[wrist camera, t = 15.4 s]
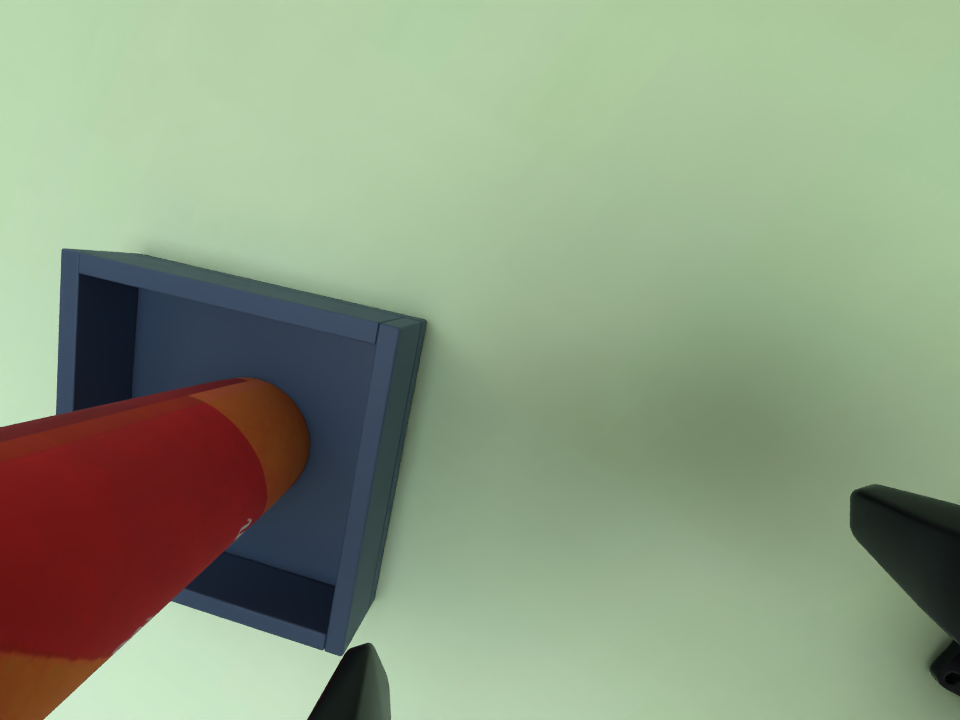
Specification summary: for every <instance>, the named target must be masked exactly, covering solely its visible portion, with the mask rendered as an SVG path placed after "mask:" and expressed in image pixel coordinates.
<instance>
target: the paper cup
mask: <svg viewBox="0 0 960 720" xmlns="http://www.w3.org/2000/svg"><path fill="white" fill-rule="evenodd" d="M309 449H310V441H309V433H308V429H307V425H306V422H305V420H304V418H303V415H302V414H301V412H300V410H299V408H298V407H297V406H296V404H295V403H294V402H293V400H292V399H291V398H290V397H289V396H288V395H287V394H286V393H284V392H283V391H282V390H281V389H279V388H278V387H276V386H274V385H273V384H270V383H268V382H266V381H263V380H260V379H256V378H232V379H225V380H219V381H214V382H209V383H204V384H199V385H194V386H189V387H184V388H180V389H175V390H170V391H165V392H161V393H156V394H151V395H147V396H142V397H137V398H133V399H128V400H124V401H119V402H114V403H110V404H105V405H100V406H96V407H91V408H87V409H82V410H77V411H73V412H68V413H64V414H59V415H55V416H50V417H45V418H41V419H36V420H32V421H27V422H23V423H18V424H14V425H9V426H4V427H0V720H43V719H45V718H46V717H47V716H48V715H49V714H50V713H51V712H52V711H53V710H54V709H55V708H56V707H57V706H58V705H60V704H61V703H62V702H63V701H64V700H65V699H66V698H67V697H68V696H69V695H70V694H71V693H72V692H73V691H75V690H76V689H77V688H78V687H79V686H80V685H81V684H82V683H83V682H84V681H85V680H86V679H87V678H88V677H90V676H91V675H92V674H93V673H94V672H95V671H96V670H97V669H98V668H99V667H100V666H101V665H102V664H104V663H105V662H106V661H107V660H108V659H109V658H110V657H111V656H112V655H113V654H114V653H115V652H116V651H117V650H119V649H120V648H121V647H122V646H123V645H124V644H125V643H126V642H127V641H128V640H129V639H130V638H131V637H133V636H134V635H135V634H136V633H137V632H138V631H139V630H140V629H141V628H142V627H143V626H144V625H145V624H146V623H148V622H149V621H150V620H151V619H152V618H153V617H154V616H155V615H156V614H157V613H158V612H159V611H160V610H162V609H163V608H164V607H165V606H166V605H167V604H168V603H169V602H170V601H171V600H172V599H173V598H174V597H175V596H177V595H178V594H179V593H180V592H181V591H182V590H183V589H184V588H185V587H186V586H187V585H188V584H189V583H191V582H192V581H193V580H194V579H195V578H196V577H197V576H198V575H199V574H200V573H201V572H202V571H203V570H204V569H205V568H207V567H208V566H209V565H210V564H211V563H212V562H213V561H214V560H215V559H216V558H217V557H218V556H219V555H220V554H221V553H223V552H224V551H225V550H226V549H227V548H228V547H229V546H230V545H231V544H232V543H233V542H234V541H235V540H236V539H237V538H239V537H240V536H241V535H242V534H243V533H244V532H245V531H246V530H247V529H248V528H249V527H250V526H251V525H252V524H253V523H254V522H255V521H257V520H258V519H259V518H260V517H261V516H262V515H263V514H264V513H265V512H266V511H267V510H268V509H269V508H270V507H271V506H272V505H273V504H274V503H275V502H276V501H277V500H278V499H279V498H280V497H281V496H282V495H284V494H285V493H286V492H287V491H288V490H289V488H290V487H291V486H292V485H293V484H294V483H295V482H296V481H297V479H298V478H299V477H300V475H301V474H302V472H303V470H304V468H305V466H306V463H307V460H308V456H309Z"/></svg>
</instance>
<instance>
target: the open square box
mask: <svg viewBox="0 0 960 720" xmlns="http://www.w3.org/2000/svg"><path fill="white" fill-rule="evenodd" d="M425 328H426V320H424V319H420V318H416V317H412V316H407V315H403V314H399V313H394V312H390V311H386V310H381V309H377V308H373V307H368V306H364V305H360V304H355V303H351V302H347V301H342V300H338V299H334V298H329V297H325V296H321V295H316V294H312V293H308V292H303V291H299V290H295V289H290V288H286V287H282V286H277V285H273V284H269V283H264V282H260V281H256V280H251V279H247V278H243V277H238V276H234V275H230V274H226V273H221V272H217V271H213V270H208V269H204V268H200V267H195V266H191V265H187V264H182V263H178V262H174V261H169V260H165V259H161V258H156V257H152V256H148V255H143V254H135V253H122V252H107V251H93V250H78V249H62V255H61V284H60V314H59V344H58V374H57V403H56V415H59V414H64V413H68V412H73V411H77V410H82V409H87V408H91V407H96V406H100V405H105V404H110V403H114V402H119V401H124V400H128V399H133V398H137V397H142V396H147V395H151V394H156V393H161V392H165V391H170V390H175V389H180V388H184V387H189V386H194V385H199V384H204V383H209V382H214V381H219V380H225V379H232V378H256V379H260V380H263V381H266V382H268V383H270V384H273V385H274V386H276V387H278V388H279V389H281V390H282V391H283V392H284V393H286V394H287V395H288V396H289V397H290V398H291V399H292V400H293V402H294V403H295V404H296V406H297V407H298V408H299V410H300V412H301V414H302V415H303V418H304V420H305V422H306V425H307V429H308V433H309V441H310V449H309V456H308V460H307V463H306V466H305V468H304V470H303V472H302V474H301V475H300V477H299V478H298V479H297V481H296V482H295V483H294V484H293V485H292V486H291V487H290V488H289V490H288V491H287V492H286V493H285V494H284V495H282V496H281V497H280V498H279V499H278V500H277V501H276V502H275V503H274V504H273V505H272V506H271V507H270V508H269V509H268V510H267V511H266V512H265V513H264V514H263V515H262V516H261V517H260V518H259V519H258V520H257V521H255V522H254V523H253V524H252V525H251V526H250V527H249V528H248V529H247V530H246V531H245V532H244V533H243V534H242V535H241V536H240V537H239V538H237V539H236V540H235V541H234V542H233V543H232V544H231V545H230V546H229V547H228V548H227V549H226V550H225V551H224V552H223V553H221V554H220V555H219V556H218V557H217V558H216V559H215V560H214V561H213V562H212V563H211V564H210V565H209V566H208V567H207V568H205V569H204V570H203V571H202V572H201V573H200V574H199V575H198V576H197V577H196V578H195V579H194V580H193V581H192V582H191V583H189V584H188V585H187V586H186V587H185V588H184V589H183V590H182V591H181V592H180V593H179V594H178V595H177V596H175V597H174V598H173V599H172V600H171V601H173V602H176V603H179V604H182V605H185V606H188V607H191V608H194V609H197V610H200V611H203V612H206V613H209V614H213V615H216V616H219V617H222V618H225V619H228V620H231V621H234V622H237V623H240V624H243V625H246V626H249V627H252V628H255V629H258V630H261V631H265V632H268V633H271V634H274V635H277V636H280V637H283V638H286V639H289V640H292V641H295V642H298V643H301V644H304V645H307V646H310V647H314V648H317V649H320V650H324V649H325V651H326V652H329V653H332V654H335V655H338V656H342V655H343V654H344V652H345V650H346V649H347V647H348V645H349V643H350V642H351V640H352V638H353V636H354V635H355V633H356V631H357V629H358V627H359V626H360V624H361V622H362V620H363V619H364V617H365V615H366V613H367V612H368V610H369V608H370V607H371V605H372V603H373V601H374V599H375V593H376V588H377V583H378V578H379V572H380V567H381V562H382V556H383V551H384V546H385V540H386V535H387V530H388V524H389V519H390V514H391V508H392V503H393V498H394V492H395V487H396V482H397V477H398V471H399V466H400V461H401V455H402V450H403V445H404V439H405V434H406V429H407V423H408V418H409V413H410V407H411V402H412V397H413V392H414V386H415V381H416V376H417V370H418V365H419V360H420V354H421V349H422V344H423V338H424V333H425Z"/></svg>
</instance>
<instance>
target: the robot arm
mask: <svg viewBox="0 0 960 720" xmlns="http://www.w3.org/2000/svg"><path fill="white" fill-rule="evenodd" d="M850 528H851V531H852V533H853V535H854V537H855V538H856V539H857V541H858V542H859V543H860V544H861V545H862V546H863V547H864V548H865V549H866V550H867V551H868V552H869V554H870V555H871V556H872V557H873V558H874V559H875V560H876V561H877V562H878V563H879V564H880V565H881V566H882V567H883V568H884V569H885V571H886V572H887V573H888V574H889V575H890V576H891V577H892V578H893V579H894V580H895V581H896V582H897V583H898V584H899V585H900V586H901V588H902V589H903V590H904V591H905V592H906V593H907V594H908V595H909V596H910V597H911V598H912V599H913V600H914V601H915V602H916V603H917V605H918V606H919V607H920V608H921V609H922V610H923V611H924V612H925V613H926V614H927V615H928V616H929V617H930V618H931V619H932V620H934V621H935V622H936V623H937V624H938V625H939V626H940V627H941V628H942V629H943V630H944V631H945V632H946V633H947V634H948V635H950V636H951V637H952V638H953V639H954V641H953V642H952V643H951V644H950V645H949V646H948V647H947V648H946V649H945V650H944V651H943V653H942V654H941V655H940V656H939V657H938V658H937V659H936V660H935V661H934V662H933V663H932V665H931V667H930V673H931V675H932V676H933V678H934V679H935V680H936V681H937V682H938V683H939V684H940V685H941V686H943V687H944V688H946V689H947V690H949V691H951V692H953V693H954V694H956V695H958V696H960V505H957V504H953V503H950V502H946V501H942V500H938V499H934V498H930V497H926V496H922V495H918V494H914V493H910V492H906V491H902V490H898V489H894V488H890V487H886V486H883V485H878V484H873V485H869V486H865V487H862V488H859V489H856V490H854V491H853V492H852V493H851V496H850ZM949 673H950V674H949ZM947 674H949V675H947ZM307 720H391V710H390V691H389V683H388V678H387V675H386V672H385V670H384V668H383V665H382V663H381V661H380V659H379V656H378V654H377V652H376V649H375V647H374V646H373V645H372V644H371V643H366V644H362V645H359V646H356V647H353V648H350V649H349V650H348V651H347V652H346V653H345V654H344V656H343V658H342V660H341V661H340V663H339V665H338V667H337V668H336V670H335V672H334V674H333V675H332V677H331V679H330V681H329V682H328V684H327V686H326V687H325V689H324V691H323V693H322V694H321V696H320V698H319V700H318V701H317V703H316V705H315V707H314V708H313V710H312V712H311V714H310V715H309V717H308V719H307Z"/></svg>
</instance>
